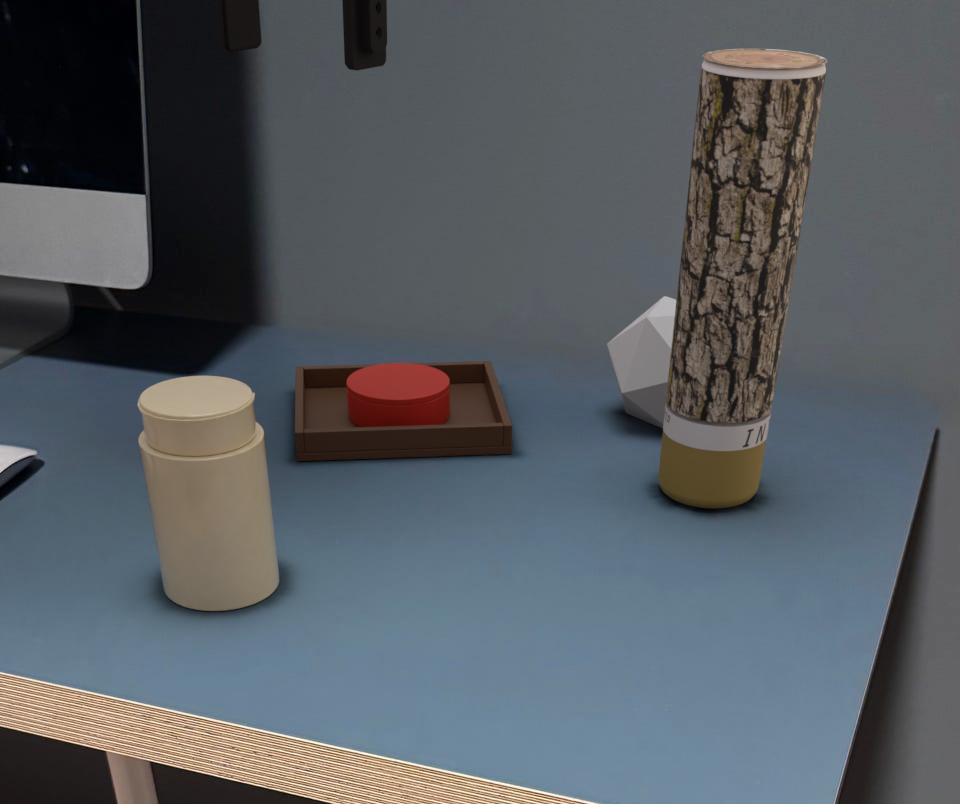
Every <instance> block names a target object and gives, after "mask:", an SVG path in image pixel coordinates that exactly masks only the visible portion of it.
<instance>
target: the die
mask: <svg viewBox="0 0 960 804" xmlns="http://www.w3.org/2000/svg"><path fill="white" fill-rule="evenodd" d="M676 300H677V298H676V299H675V298H672V297H669V296H666V295H664V296H663V297H661V298H660V299H659V300H658V301H657V302H655V303H654V304H653V305H651V306H650V308H647V310H646V311H644V312H643V313H641V314H640V315H639V316H638V317H637V318H636V319H635V320H634V321H632V322H631V323H630V324H629V325H627V326H626V327H625V328H624V329H622V331H620V332H619V333H618V334H617V335H615V336H614V337H613V338H612V339H611V340H609V341H608V342H607V343H606V345H607V350H608V353H609V356H610V361H611V364H612V367H613V372H614V375H615V378H616V382H617V385H618V389H619V393H620V398H621V401H622V404H623V408H624V411H625V414H626V415H627V414H628V415H630V416H632V417H635V418H636V419H638V420H642V421H644V422H646V423H648V424H651V425H653V426H656V427H658V428H660V429H663V423H664V413H665V404H666V394H667V385H668V376H669V366H670V357H671V347H672V338H673V328H674V319H675V310H676Z"/></svg>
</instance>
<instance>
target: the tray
mask: <svg viewBox="0 0 960 804" xmlns="http://www.w3.org/2000/svg"><path fill="white" fill-rule="evenodd" d="M411 363H412V364H420V365H425V366H429V367H433V368H436V369H438V370H440V371H442V372H444V373H445V374H446V375H447V376H448V377H449V380H450V416H449V418H448V419H447V421H446V422H444V423H443V424H441V425H417V426H387V427H359V426H357V425H356V424H354V423H353V422H352V421H351V420H350V418H349V415H348V400H347V384H346V382H347V379H348V377H349V376H350V375H351V374H352V373H354V372H355V371H357V370H360V369H362V368H365V367H369V366H373V365H379V364H380V363H375V364H374V363H372V364H367V363H366V364H340V365H339V364H337V365H336V364H335V365H304V366H303V365H302V366H301V365H300V366H295V379H294V380H295V381H294V383H295V385H294V386H295V387H294V388H295V389H294V400H295V401H294V438H295V439H294V440H295V451H296V461H297V462H313V461H314V462H315V461H316V462H319V461H321V462H322V461H344V460H345V461H348V460H373V459H374V460H375V459H377V460H378V459H402V458H403V459H404V458H429V457H432V458H433V457H458V456H459V457H460V456H461V457H462V456H487V455H511V454H513V453H512V449H513V447H512V445H513V424H512V421H511V418H510V415H509V412H508V408H507V405H506V402H505V399H504V396H503V393H502V390H501V388H500V385H499V382H498V379H497V376H496V372H495V370H494V366H493V363H492V361H491V360H478V361H477V360H475V361H474V360H473V361H472V360H471V361H447V362H446V361H444V362H443V361H442V362H441V361H440V362H411Z"/></svg>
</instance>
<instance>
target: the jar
mask: <svg viewBox="0 0 960 804" xmlns="http://www.w3.org/2000/svg"><path fill="white" fill-rule="evenodd" d="M255 400H256V392H253V391H252V388H250V386H249V385H248V384H247V383H244V382H243V381H240V380H238V379H234V378H230V377H225V376H218V375H189V376H181V377H175V378H171V379H166V380H163V381H160V382H157V383H155V384H153V385H150V386H149V387H147V388H145V389H144V390H143V391H142V392H141V393H140V396H139V398H138V401H137V405H136V406H137V409H138V411H139V412H140V415H141V420H142V427H143V430H142V431H141V433H140V434H139V436H138V441H137V442H138V448H139V453H140V459H141V465H142V466H141V467H142V471H143V477H144V482H145V483H144V484H145V486H146V487H145V489H146V493H147V500H148V506H149V511H150V512H149V513H150V516H151V523H152V530H153V535H154V540H155V546H156V552H157V558H158V564H159V570H160V574H161V582H162V587H163V592H164V593H165V595H166V597H167V598H168V599H169V600H171V601H172V603H175V604H177V605H178V606H181V607H184V608H186V609H191V610H195V611H204V612H223V611H225V612H226V611H233V610H238V609H243V608H246V607H249V606H252V605H256V604H258V603H260V602H263V601H264V600H265V599H266V598H268V597H270V596H271V595H273V594H274V592H275V591H276V589H278V586H279V584H280V580H281V579H280V571H279V561H278V552H277V542H276V532H275V524H274V522H275V521H274V514H273V505H272V494H271V486H270V478H269V476H270V475H269V466H268V457H267V447H266V437H265V430H264V428H263V426H261V424H260V423H258V421H256V413H255V405H254V402H255Z"/></svg>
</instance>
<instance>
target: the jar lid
mask: <svg viewBox="0 0 960 804" xmlns="http://www.w3.org/2000/svg"><path fill="white" fill-rule="evenodd" d="M412 363H413V362H411V363H410V362H389V363H387V362H386V363H378V364H379V365H373V366H369V367H365V368H362V369H360V370H357V371H355V372H354V373H352V374H351V375H350V376H349V377H348V379H347V382H346V384H347V400H348V415H349V418H350V420H351V421H352V422H353V423H354V424H356V425H357V426H359V427H387V426H417V425H441V424H443V423H444V422H446V421H447V419H448V418H449V416H450V380H449V377H448V376H447V375H446V374H445V373H444V372H442V371H440V370H438V369H436V368H433V367H429V366H425V365H420V364H412Z"/></svg>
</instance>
